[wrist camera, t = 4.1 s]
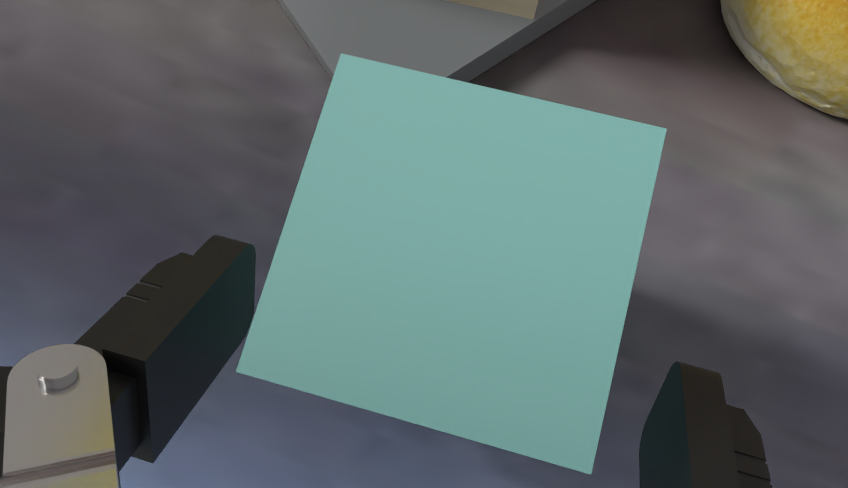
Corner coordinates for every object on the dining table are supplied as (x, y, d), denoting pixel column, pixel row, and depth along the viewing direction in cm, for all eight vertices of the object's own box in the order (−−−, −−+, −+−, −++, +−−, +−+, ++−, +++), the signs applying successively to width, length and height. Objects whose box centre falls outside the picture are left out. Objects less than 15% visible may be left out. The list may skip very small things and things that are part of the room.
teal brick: (526, 443, 19) (591, 474, 9) (348, 392, 20) (235, 371, 10) (568, 266, 20) (666, 127, 10) (398, 222, 21) (340, 53, 11)
